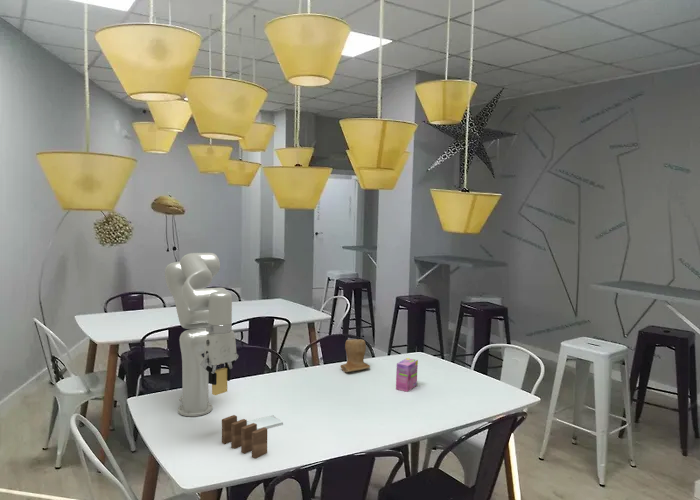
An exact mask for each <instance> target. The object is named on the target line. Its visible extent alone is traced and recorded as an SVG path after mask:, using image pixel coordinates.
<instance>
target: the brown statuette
mask: <svg viewBox="0 0 700 500" xmlns="http://www.w3.org/2000/svg"><path fill="white" fill-rule="evenodd" d="M344 345H345V346H344V349H345V351H346V353H345V354H346V358H347V360H346V363H344V364H341V365H340V369H341V370H342V371H343V372H344V373H351V372H358V371H362V370H367V369H370V368H371V365H370V364H368V363H365V361H364V360H365V359H364V358H365V356H366V350H367V346H366V340H364V339H361V338H360V339H359V338H355V339H353V338H350V339H346V341H345V344H344Z"/></svg>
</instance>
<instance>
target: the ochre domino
mask: <svg viewBox="0 0 700 500" xmlns="http://www.w3.org/2000/svg"><path fill="white" fill-rule="evenodd" d="M215 373H216V374H217V384H216V385H213V384H211V395H212V396H217V395H221V394H224V393H227V392H228V381H227V368H225V366H223V367H222V368H221V367H220V368H216V370H215Z"/></svg>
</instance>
